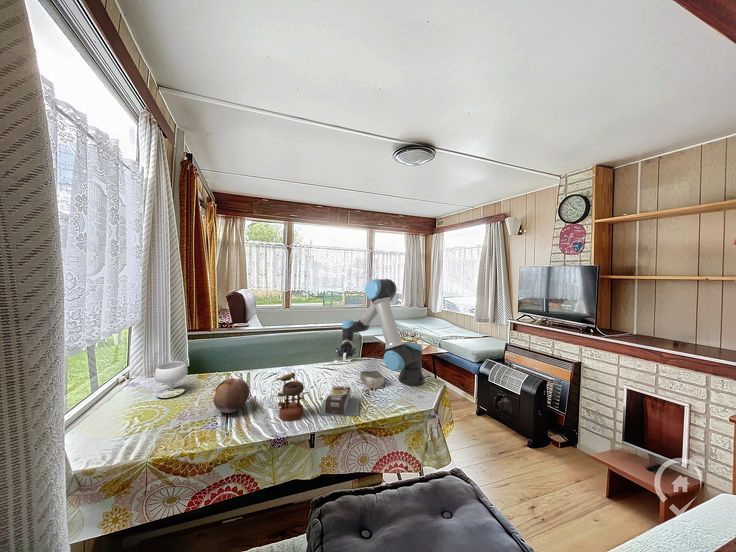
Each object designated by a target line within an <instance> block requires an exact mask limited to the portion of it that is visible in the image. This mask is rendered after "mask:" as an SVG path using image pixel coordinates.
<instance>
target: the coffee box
mask: <svg viewBox="0 0 736 552" xmlns="http://www.w3.org/2000/svg"><path fill="white" fill-rule="evenodd" d="M350 399H351V386H347V385H346V386H345V385H333V384H332V388H331V389H330V391H329V393H328V395H327V397H326V399H325V400H326V406H325V413H332V414H343V415H344V413H345V410H346V408H347V405H348V402H349V400H350Z"/></svg>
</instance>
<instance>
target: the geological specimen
mask: <svg viewBox="0 0 736 552" xmlns="http://www.w3.org/2000/svg"><path fill="white" fill-rule="evenodd" d="M361 380H362V381H363V382H362V381H361ZM360 381H361V382H362V384H363V385H364V384H365V385H366V386H367V387H366V386H365V385H364V386H365V387H366V389H367V388H376V389H380V387H381V388H383V387H385V377H384V376H383V375H382V373H381V372H379V370H366V371H365V370H364V371H360Z"/></svg>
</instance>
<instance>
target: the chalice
mask: <svg viewBox="0 0 736 552" xmlns="http://www.w3.org/2000/svg"><path fill="white" fill-rule="evenodd" d="M188 372H189V370H188V366H187V364H186V363H185V362H184V361H177V360H176V361H169V362H168V361H167V362H165V363H161V364H159V365H158V366H157V367H156V369H155V371H154V374H153V375H154V376H153V377H154V380H155V381H156V382H157V383H159V384H163V385H167V386H168V389H169V390H168V391H174V390H175V389H174V388H175V387H174V386H175V385H176V383H179V382H180V381H182V380H184V379H185V378H186V377H187V374H188Z"/></svg>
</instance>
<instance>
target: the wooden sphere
mask: <svg viewBox="0 0 736 552" xmlns="http://www.w3.org/2000/svg"><path fill="white" fill-rule="evenodd" d="M249 396H250V388H249V386H248V383H247V382H246V381H245V380H243V379H242V378H240V377H229V378H226V379H224V380H222V381H221V382H220V383H218V384H217V386H216V388H215V389H214V391H213V395H212V401H213V405H214V407H215V408H216V409H217V410H218V411H219V412H221V413H225V414H230V413H235V412H237V411H239V410H241V409H242V408H243V407H244V406H245V405H246V404H247V402H248V400H249Z"/></svg>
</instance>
